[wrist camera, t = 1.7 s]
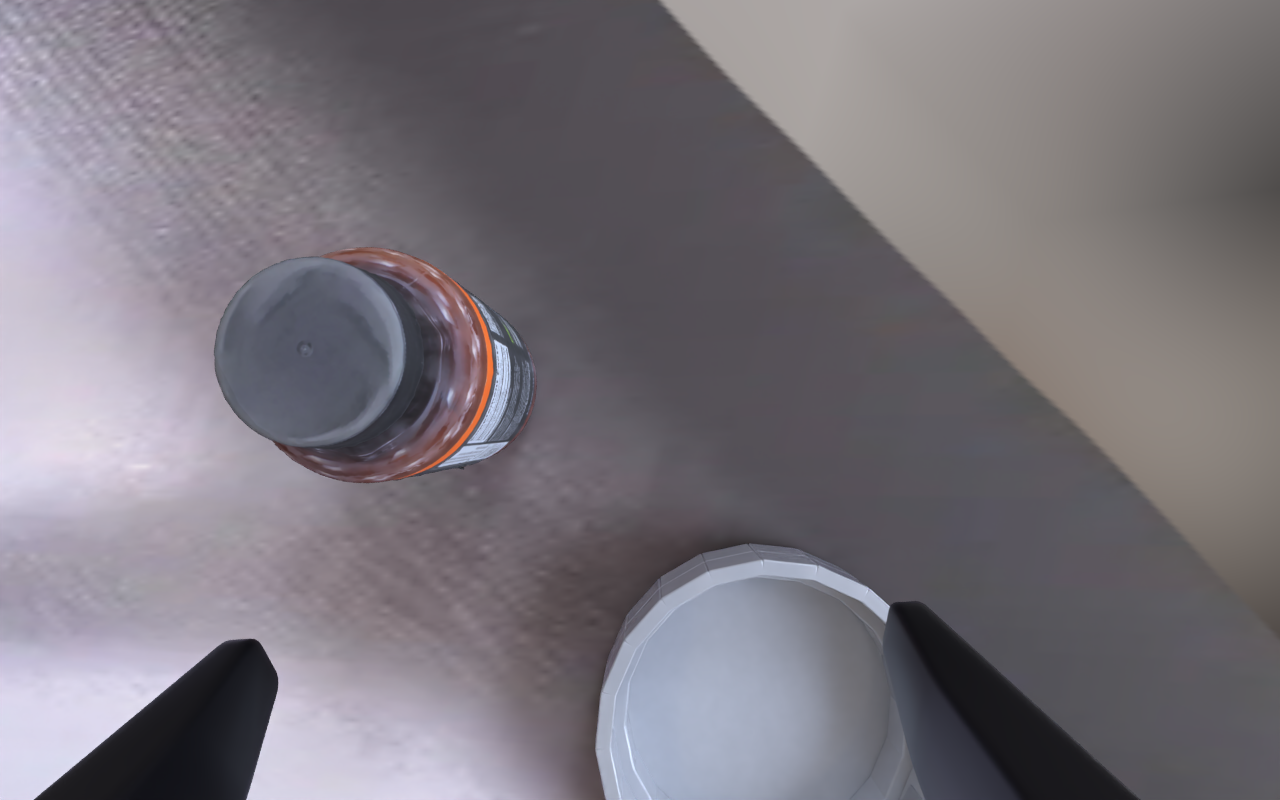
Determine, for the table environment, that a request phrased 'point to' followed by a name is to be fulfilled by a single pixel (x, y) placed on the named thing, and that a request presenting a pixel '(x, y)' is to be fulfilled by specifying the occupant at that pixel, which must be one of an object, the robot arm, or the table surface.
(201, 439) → the table surface
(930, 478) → the table surface
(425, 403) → the supplement bottle
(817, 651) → the pan
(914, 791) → the pan handle
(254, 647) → the robot arm
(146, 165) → the table surface
